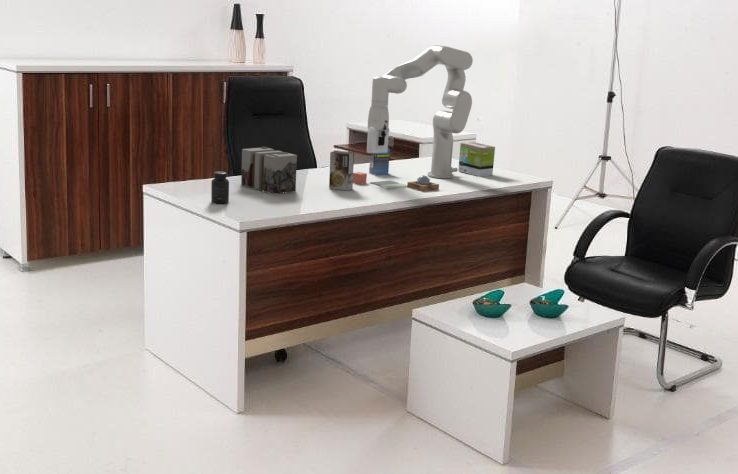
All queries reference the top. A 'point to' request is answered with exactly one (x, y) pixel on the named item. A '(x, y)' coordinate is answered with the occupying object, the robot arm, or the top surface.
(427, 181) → the dome
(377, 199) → the top surface
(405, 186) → the pad
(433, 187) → the frame
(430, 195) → the top surface
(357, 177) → the die
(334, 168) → the coffee box
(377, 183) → the pad
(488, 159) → the tea box
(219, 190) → the supplement bottle
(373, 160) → the blue retail box
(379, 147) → the photo printer
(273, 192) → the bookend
